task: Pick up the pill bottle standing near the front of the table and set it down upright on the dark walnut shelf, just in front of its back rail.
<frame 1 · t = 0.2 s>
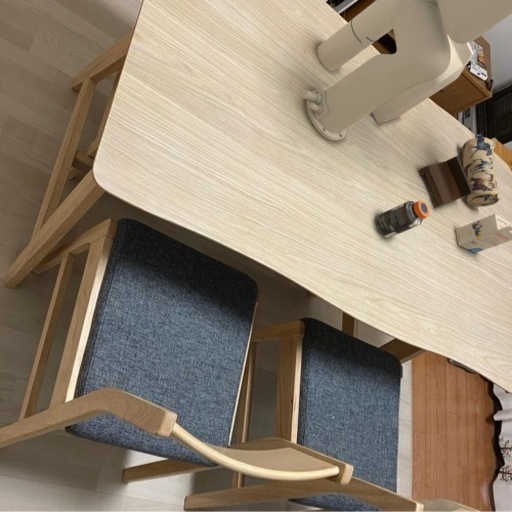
pencil case: (465, 178, 169), on the table
pill bottle: (382, 226, 133), on the table
shelf: (436, 185, 155), on the table
ink box: (464, 241, 156), on the table
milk: (377, 100, 150), on the table
cylindrical container: (327, 58, 140), on the table
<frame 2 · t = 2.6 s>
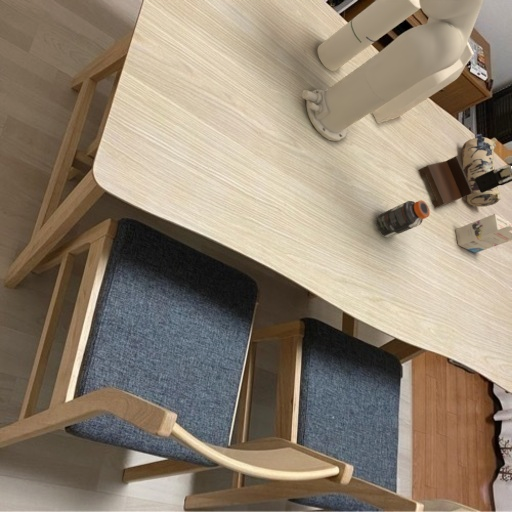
hand: (488, 182, 114), 26 cm above the table, tool pointing down, fingers open, 9 cm apart
nothing on the table moved.
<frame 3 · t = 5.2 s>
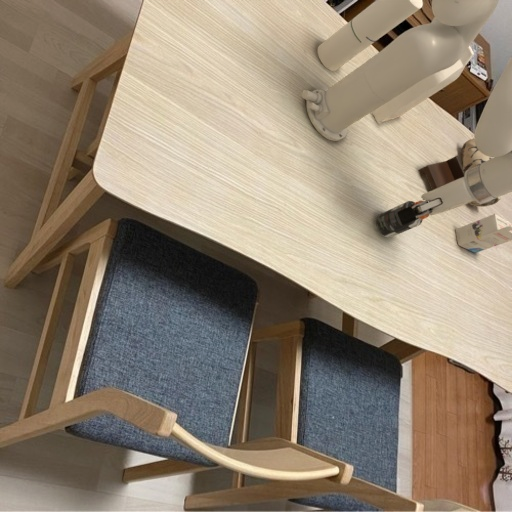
hand: (408, 215, 128), 7 cm above the table, tool pointing down, fingers closed on pill bottle, 6 cm apart
pill bottle: (382, 226, 133), on the table, touching gripper
everything else where it was.
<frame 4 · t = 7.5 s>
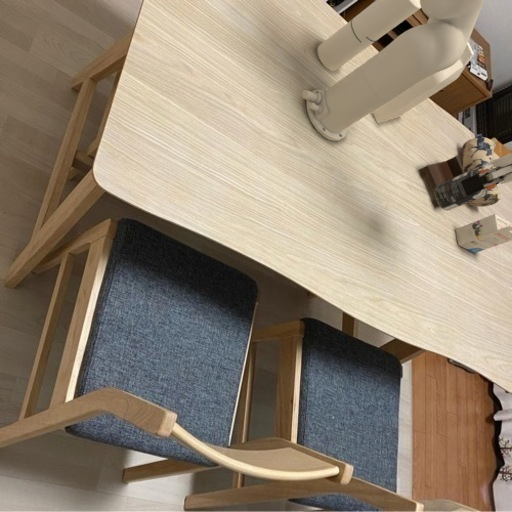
hand: (471, 185, 116), 23 cm above the table, tool pointing down, fingers closed on pill bottle, 6 cm apart
pill bottle: (441, 198, 121), point 16 cm above the table, touching gripper
everything else where it was.
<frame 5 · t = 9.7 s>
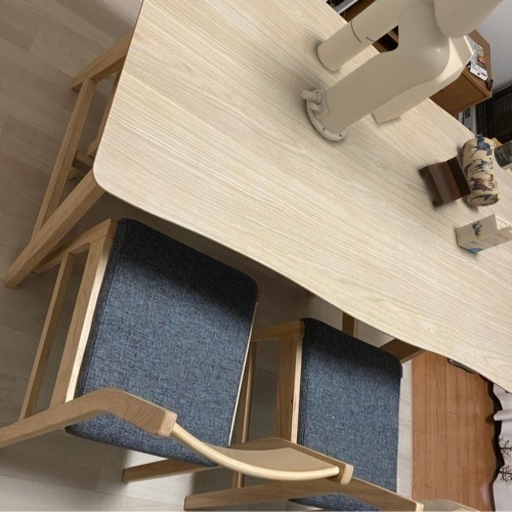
pill bottle: (499, 159, 138), point 20 cm above the table, touching gripper
everything else where it was.
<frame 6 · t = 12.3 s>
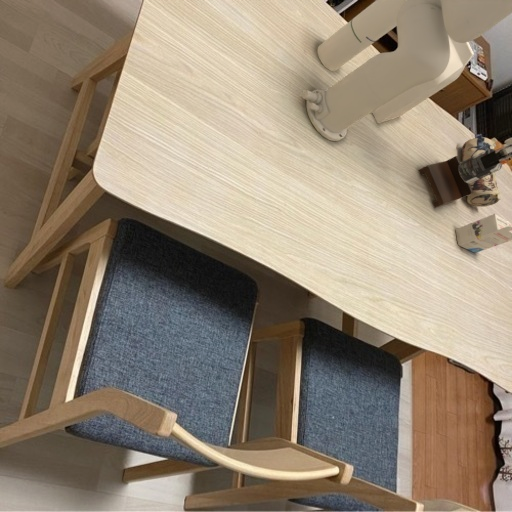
hand: (488, 161, 144), 16 cm above the table, tool pointing down, fingers closed on pill bottle, 6 cm apart
pill bottle: (463, 173, 149), point 8 cm above the table, touching gripper
everything else where it was.
when the fingers open (10 cm above the table, at t = 14.2 s): pill bottle stays where it is, resting on shelf.
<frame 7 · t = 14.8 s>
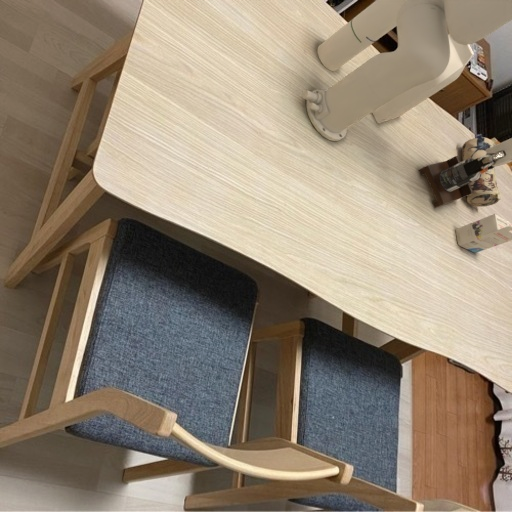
hand: (473, 168, 147), 11 cm above the table, tool pointing down, fingers open, 9 cm apart
pill bottle: (444, 182, 153), point 3 cm above the table, touching shelf
everything else where it was.
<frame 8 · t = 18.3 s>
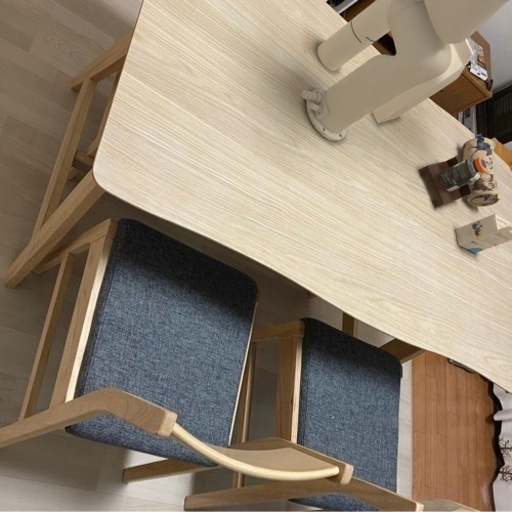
nothing on the table moved.
at the end: pill bottle 0.3 cm off-centre on the shelf, point 2.8 cm above the shelf's base; pill bottle tilted 0°; the gripper is holding nothing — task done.
